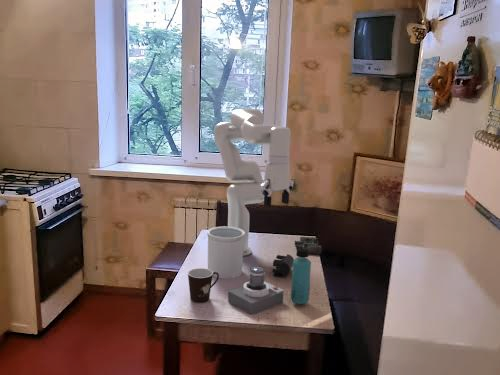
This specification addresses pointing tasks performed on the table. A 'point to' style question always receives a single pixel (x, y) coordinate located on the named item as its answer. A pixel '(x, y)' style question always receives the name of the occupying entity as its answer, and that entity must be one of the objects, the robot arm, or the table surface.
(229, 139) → the robot arm
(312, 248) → the binoculars
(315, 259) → the table surface
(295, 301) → the beverage bottle
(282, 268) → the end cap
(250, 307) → the camera body
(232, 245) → the utensil holder
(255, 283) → the lens
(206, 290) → the coffee mug
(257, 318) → the table surface
